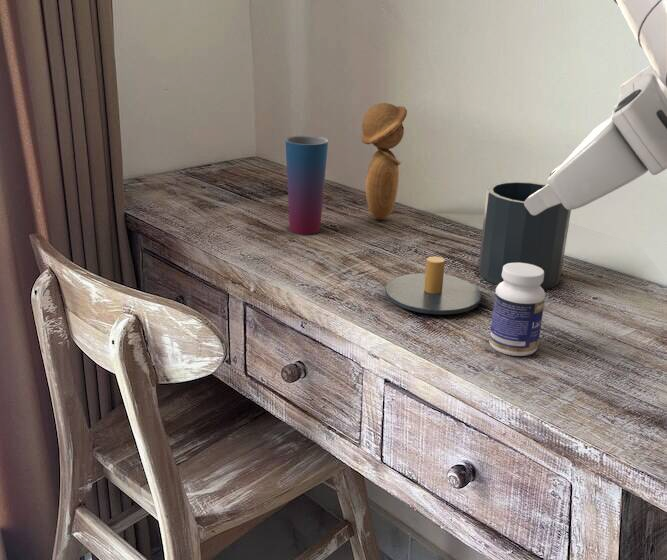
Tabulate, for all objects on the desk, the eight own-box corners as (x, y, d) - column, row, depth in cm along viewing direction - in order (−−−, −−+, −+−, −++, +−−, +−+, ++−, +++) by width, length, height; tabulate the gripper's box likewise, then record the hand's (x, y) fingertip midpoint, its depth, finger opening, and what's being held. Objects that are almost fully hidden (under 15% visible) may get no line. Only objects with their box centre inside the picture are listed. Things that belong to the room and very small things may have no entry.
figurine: (406, 226, 138) (414, 108, 130) (365, 228, 136) (371, 108, 129) (390, 210, 146) (397, 98, 139) (351, 212, 144) (357, 98, 137)
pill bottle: (539, 360, 94) (551, 280, 90) (489, 355, 94) (498, 275, 91) (535, 338, 99) (546, 262, 95) (488, 334, 100) (497, 258, 96)
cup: (321, 223, 138) (324, 135, 132) (328, 236, 132) (331, 144, 126) (281, 223, 137) (283, 135, 131) (286, 236, 131) (288, 144, 125)
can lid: (485, 321, 103) (489, 280, 101) (384, 315, 104) (386, 274, 102) (475, 283, 115) (480, 245, 113) (385, 278, 116) (387, 240, 113)
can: (566, 292, 113) (580, 206, 108) (482, 287, 114) (492, 201, 109) (551, 263, 124) (563, 183, 119) (475, 258, 124) (483, 179, 120)
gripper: (660, 66, 83) (550, 142, 91) (622, 109, 66) (493, 198, 75) (697, 116, 83) (583, 188, 91) (668, 172, 67) (533, 253, 75)
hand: (542, 193), depth 83 cm, fingers open, 8 cm apart
